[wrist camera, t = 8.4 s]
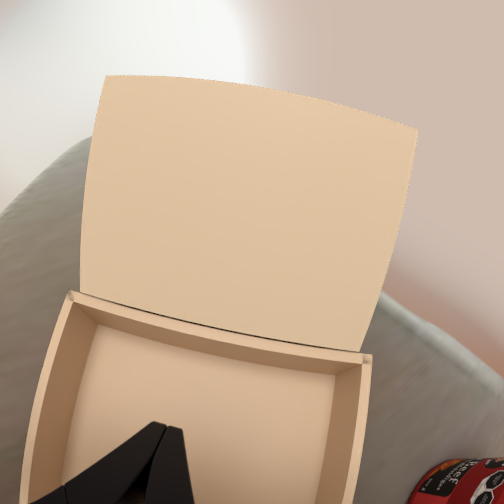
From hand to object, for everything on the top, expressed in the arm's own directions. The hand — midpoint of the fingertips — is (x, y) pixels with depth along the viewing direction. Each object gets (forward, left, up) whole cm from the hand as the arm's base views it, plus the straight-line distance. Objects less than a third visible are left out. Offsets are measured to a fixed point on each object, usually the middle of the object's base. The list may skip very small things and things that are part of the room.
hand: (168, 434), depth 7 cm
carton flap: (+7, -7, -3) cm, 10 cm away
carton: (-2, +2, -12) cm, 13 cm away
